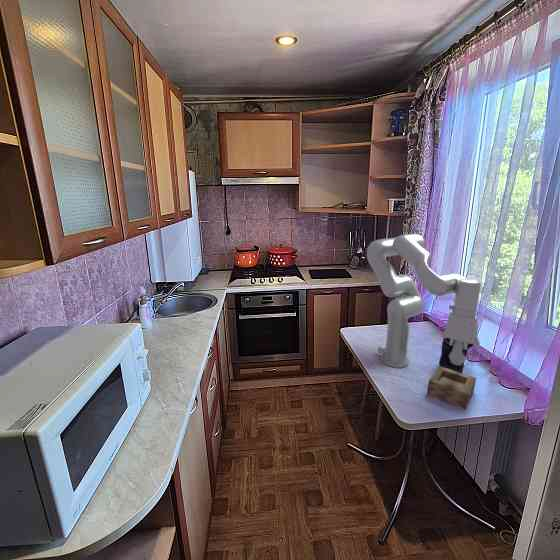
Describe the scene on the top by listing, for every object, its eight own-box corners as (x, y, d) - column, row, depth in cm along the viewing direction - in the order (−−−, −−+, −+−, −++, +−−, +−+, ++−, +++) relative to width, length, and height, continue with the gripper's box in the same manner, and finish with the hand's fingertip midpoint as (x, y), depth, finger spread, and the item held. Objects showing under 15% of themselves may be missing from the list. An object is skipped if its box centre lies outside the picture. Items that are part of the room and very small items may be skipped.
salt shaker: (459, 358, 128) (464, 328, 125) (468, 366, 123) (473, 335, 119) (445, 359, 128) (449, 329, 124) (453, 366, 122) (458, 335, 119)
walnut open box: (426, 395, 129) (428, 380, 127) (436, 379, 139) (438, 365, 137) (465, 410, 120) (468, 394, 118) (473, 392, 131) (476, 377, 129)
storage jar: (434, 364, 151) (438, 335, 146) (455, 364, 150) (460, 335, 146) (444, 376, 141) (449, 346, 137) (467, 376, 141) (472, 346, 136)
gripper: (437, 309, 122) (432, 352, 127) (487, 320, 111) (479, 367, 117) (444, 303, 127) (438, 345, 133) (492, 314, 117) (483, 359, 122)
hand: (457, 355), depth 124 cm, fingers closed on salt shaker, 3 cm apart
